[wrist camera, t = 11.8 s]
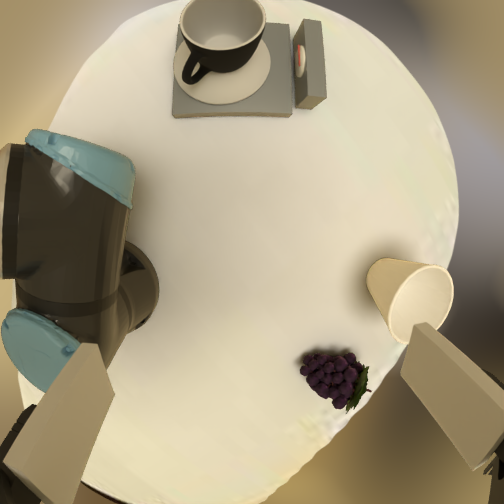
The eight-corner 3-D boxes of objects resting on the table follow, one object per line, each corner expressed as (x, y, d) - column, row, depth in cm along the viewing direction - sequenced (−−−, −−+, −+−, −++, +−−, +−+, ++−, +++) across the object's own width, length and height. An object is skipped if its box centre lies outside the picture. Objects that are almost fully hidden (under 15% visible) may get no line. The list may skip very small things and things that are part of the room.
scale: (175, 118, 36) (164, 107, 29) (180, 31, 32) (173, 9, 26) (311, 118, 38) (327, 108, 31) (307, 33, 34) (320, 13, 27)
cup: (341, 299, 45) (373, 337, 33) (370, 232, 43) (414, 252, 31) (392, 315, 47) (429, 349, 35) (420, 256, 44) (465, 278, 32)
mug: (216, 19, 29) (213, -21, 20) (270, 46, 31) (282, 10, 21) (164, 80, 31) (143, 51, 22) (219, 111, 33) (215, 87, 23)
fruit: (310, 333, 50) (378, 357, 48) (286, 380, 50) (353, 402, 49) (316, 352, 40) (397, 378, 38) (287, 407, 40) (365, 429, 39)
